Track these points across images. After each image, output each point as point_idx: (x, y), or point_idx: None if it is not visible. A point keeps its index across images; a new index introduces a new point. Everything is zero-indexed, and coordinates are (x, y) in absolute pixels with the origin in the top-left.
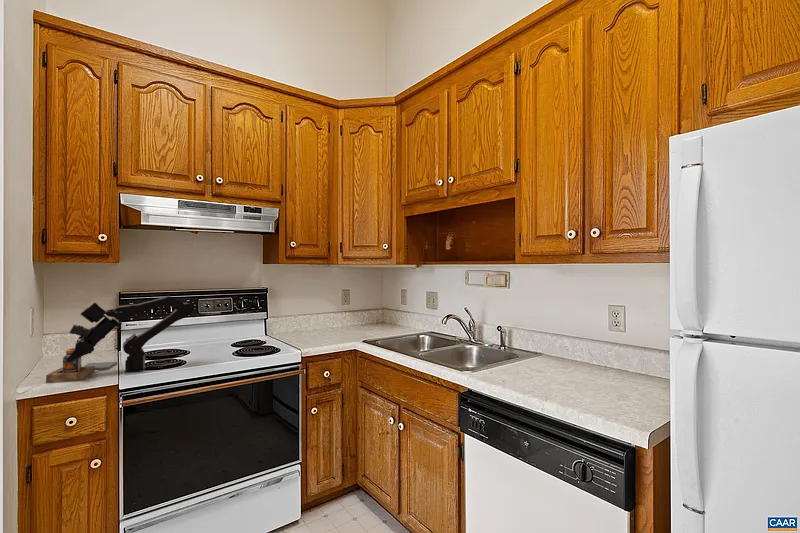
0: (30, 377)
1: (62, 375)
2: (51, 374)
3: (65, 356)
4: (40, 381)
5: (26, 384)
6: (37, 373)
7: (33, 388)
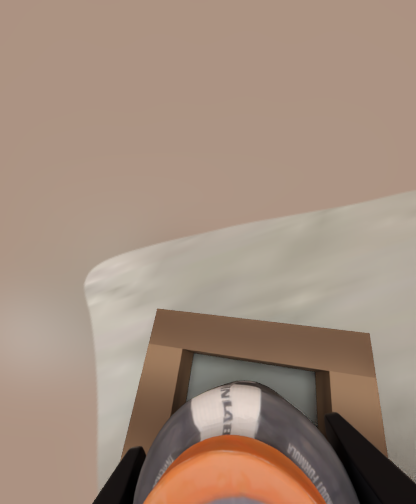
0: (319, 214)
1: (136, 406)
2: (161, 333)
3: (161, 436)
4: (217, 282)
5: (182, 247)
6: (409, 210)
7: (91, 298)
